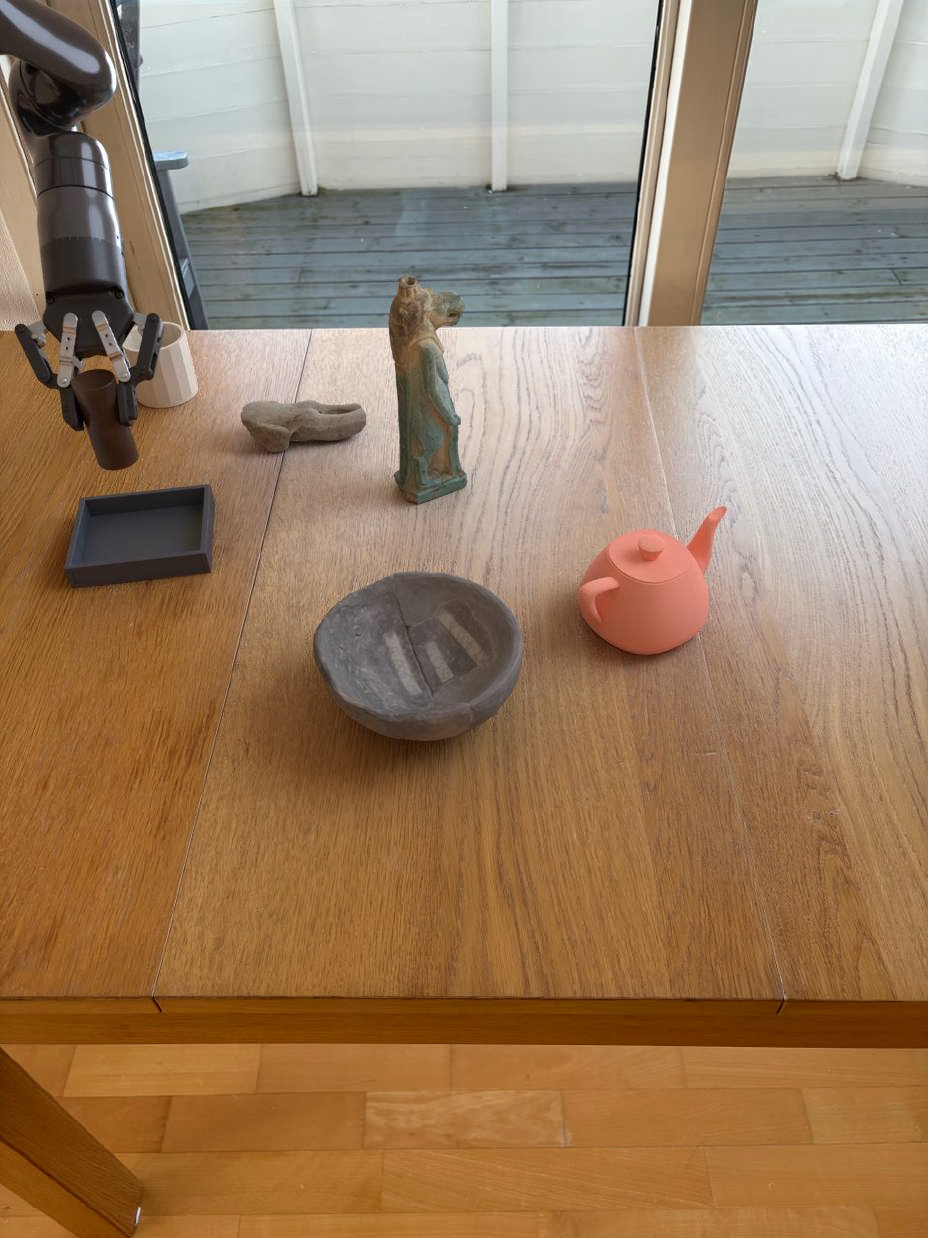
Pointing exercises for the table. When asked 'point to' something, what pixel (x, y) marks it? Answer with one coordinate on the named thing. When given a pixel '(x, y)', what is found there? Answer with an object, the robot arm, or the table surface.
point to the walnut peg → (104, 419)
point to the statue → (424, 392)
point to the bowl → (419, 655)
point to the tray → (141, 536)
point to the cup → (165, 369)
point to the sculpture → (300, 422)
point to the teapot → (649, 588)
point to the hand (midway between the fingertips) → (102, 426)
